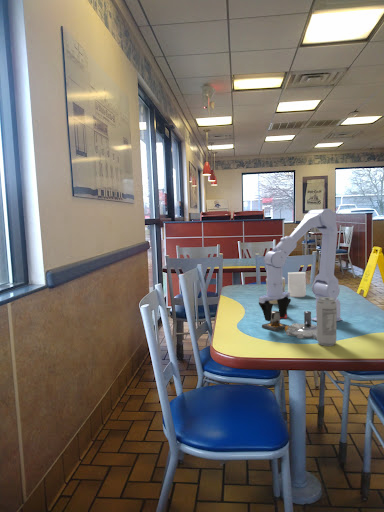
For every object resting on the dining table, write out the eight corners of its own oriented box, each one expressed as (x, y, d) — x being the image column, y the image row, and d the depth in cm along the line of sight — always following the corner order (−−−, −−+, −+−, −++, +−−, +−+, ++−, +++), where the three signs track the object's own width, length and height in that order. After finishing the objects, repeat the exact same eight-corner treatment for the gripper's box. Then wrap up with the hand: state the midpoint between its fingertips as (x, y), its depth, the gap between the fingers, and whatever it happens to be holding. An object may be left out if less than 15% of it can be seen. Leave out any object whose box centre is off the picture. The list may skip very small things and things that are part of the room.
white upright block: (304, 293, 199) (304, 271, 198) (307, 297, 190) (307, 274, 189) (287, 293, 200) (287, 271, 199) (289, 297, 191) (289, 274, 190)
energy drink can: (331, 340, 124) (331, 296, 122) (339, 346, 118) (339, 300, 116) (314, 340, 124) (313, 296, 122) (320, 347, 118) (320, 300, 116)
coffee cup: (284, 300, 185) (283, 276, 184) (287, 304, 176) (286, 279, 175) (265, 300, 186) (264, 276, 185) (267, 304, 177) (266, 279, 176)
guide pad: (274, 323, 145) (274, 321, 144) (288, 327, 139) (288, 325, 139) (261, 327, 141) (261, 324, 141) (275, 331, 135) (275, 328, 135)
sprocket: (328, 329, 135) (328, 312, 134) (321, 341, 123) (321, 322, 123) (290, 325, 142) (290, 308, 141) (280, 335, 130) (280, 317, 129)
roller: (274, 323, 142) (274, 310, 142) (281, 325, 139) (281, 312, 139) (268, 324, 140) (268, 311, 140) (275, 326, 137) (275, 313, 137)
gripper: (268, 287, 131) (269, 324, 132) (296, 282, 139) (296, 317, 140) (254, 284, 137) (255, 320, 138) (281, 280, 145) (282, 314, 146)
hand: (275, 318), depth 139 cm, fingers open, 7 cm apart
